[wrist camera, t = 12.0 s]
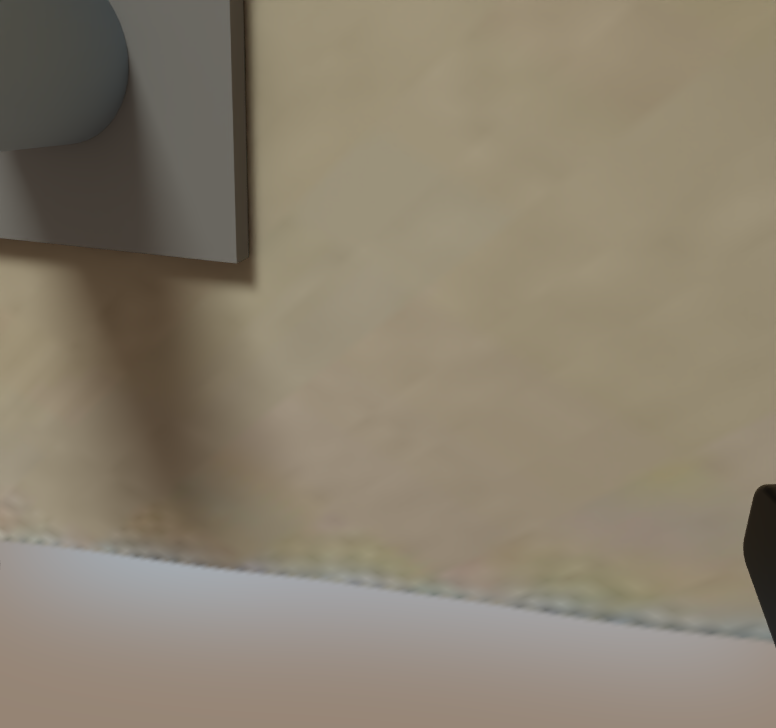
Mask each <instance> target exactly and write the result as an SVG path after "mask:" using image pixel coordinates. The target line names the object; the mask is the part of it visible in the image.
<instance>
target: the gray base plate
mask: <svg viewBox="0 0 776 728" xmlns="http://www.w3.org/2000/svg"><path fill="white" fill-rule="evenodd" d="M108 1H109V3H110V4H111V6H112V8H113V9H114V11H115V13H116V15H117V17H118V20H119V22H120V25H121V27H122V30H123V33H124V37H125V41H126V45H127V53H128V68H129V71H128V83H127V87H126V92H125V96H124V99H123V102H122V104H121V106H120V108H119V110H118V112H117V114H116V116H115V117H114V119H113V120H112V121H111V123H110V124H109V125H108V126H107V127H106V128H105V129H104V130H103V131H102V132H100V133H99V134H98V135H96V136H94V137H92V138H91V139H89V140H86V141H83V142H80V143H75V144H68V145H58V146H49V147H40V148H30V149H21V150H12V151H2V152H0V238H5V239H14V240H23V241H33V242H42V243H51V244H61V245H70V246H79V247H89V248H98V249H107V250H117V251H126V252H135V253H144V254H154V255H163V256H172V257H182V258H191V259H200V260H210V261H219V262H228V263H238V262H240V261H242V260H244V259H246V258H248V257H249V248H248V200H247V152H246V104H245V57H244V9H243V0H108Z"/></svg>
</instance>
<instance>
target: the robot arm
mask: <svg viewBox="0 0 776 728" xmlns="http://www.w3.org/2000/svg"><path fill="white" fill-rule="evenodd" d="M743 551H744V558H745V562H746V566H747V568H748V571H749V574H750V577H751V579H752V582H753V585H754V588H755V591H756V593H757V596H758V599H759V602H760V605H761V607H762V610H763V613H764V616H765V619H766V621H767V624H768V627H769V630H770V633H771V635H772V638H773V641H774V644H775V646H776V484H766V485H762V486H761V487H759V488H758V489H757V490H756V492H755V494H754V497H753V501H752V506H751V510H750V515H749V519H748V524H747V528H746V533H745V537H744V543H743Z"/></svg>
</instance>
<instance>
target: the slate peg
mask: <svg viewBox="0 0 776 728" xmlns="http://www.w3.org/2000/svg"><path fill="white" fill-rule="evenodd" d="M128 71H129V68H128V53H127V45H126V41H125V37H124V33H123V30H122V27H121V25H120V22H119V20H118V17H117V15H116V13H115V11H114V9H113V8H112V6H111V4H110V3H109V1H108V0H0V152H2V151H12V150H21V149H30V148H40V147H49V146H58V145H68V144H75V143H80V142H83V141H86V140H89V139H91V138H92V137H94V136H96V135H98V134H99V133H100V132H102V131H103V130H104V129H105V128H106V127H107V126H108V125H109V124H110V123H111V121H112V120H113V119H114V117H115V116H116V114H117V112H118V110H119V108H120V106H121V104H122V102H123V99H124V96H125V92H126V87H127V83H128Z"/></svg>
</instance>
